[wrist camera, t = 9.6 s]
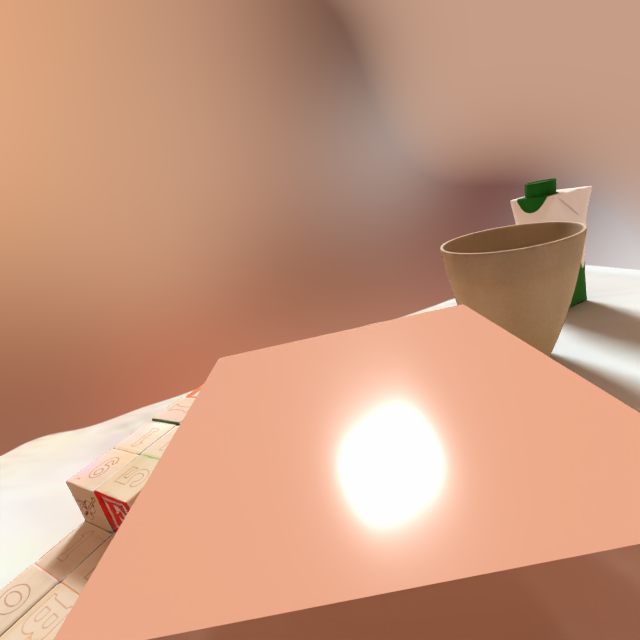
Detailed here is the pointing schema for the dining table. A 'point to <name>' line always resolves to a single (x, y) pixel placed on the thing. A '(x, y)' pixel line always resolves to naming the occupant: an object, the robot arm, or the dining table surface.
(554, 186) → the milk carton
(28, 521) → the dining table surface
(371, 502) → the salmon pink rectangular block
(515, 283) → the plant pot
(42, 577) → the stack of blocks
